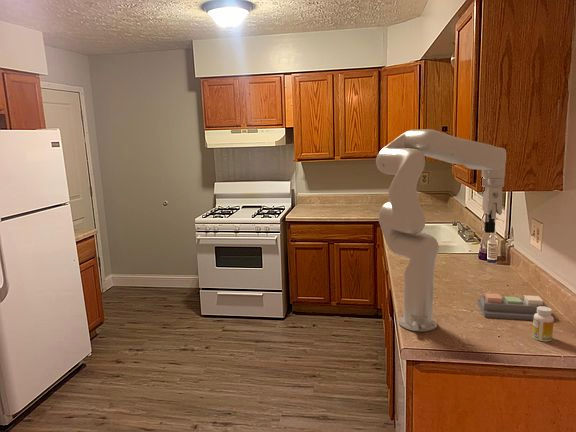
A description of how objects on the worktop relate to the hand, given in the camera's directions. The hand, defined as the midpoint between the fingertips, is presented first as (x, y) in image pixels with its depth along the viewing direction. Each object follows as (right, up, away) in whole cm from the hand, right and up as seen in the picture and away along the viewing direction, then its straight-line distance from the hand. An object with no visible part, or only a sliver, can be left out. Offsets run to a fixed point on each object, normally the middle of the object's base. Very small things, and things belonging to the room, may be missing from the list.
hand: (489, 232), depth 161 cm
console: (+6, -28, -4) cm, 29 cm away
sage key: (+6, -27, -5) cm, 28 cm away
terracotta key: (0, -26, -3) cm, 26 cm away
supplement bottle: (+5, -32, -24) cm, 41 cm away
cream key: (+12, -26, -6) cm, 29 cm away
